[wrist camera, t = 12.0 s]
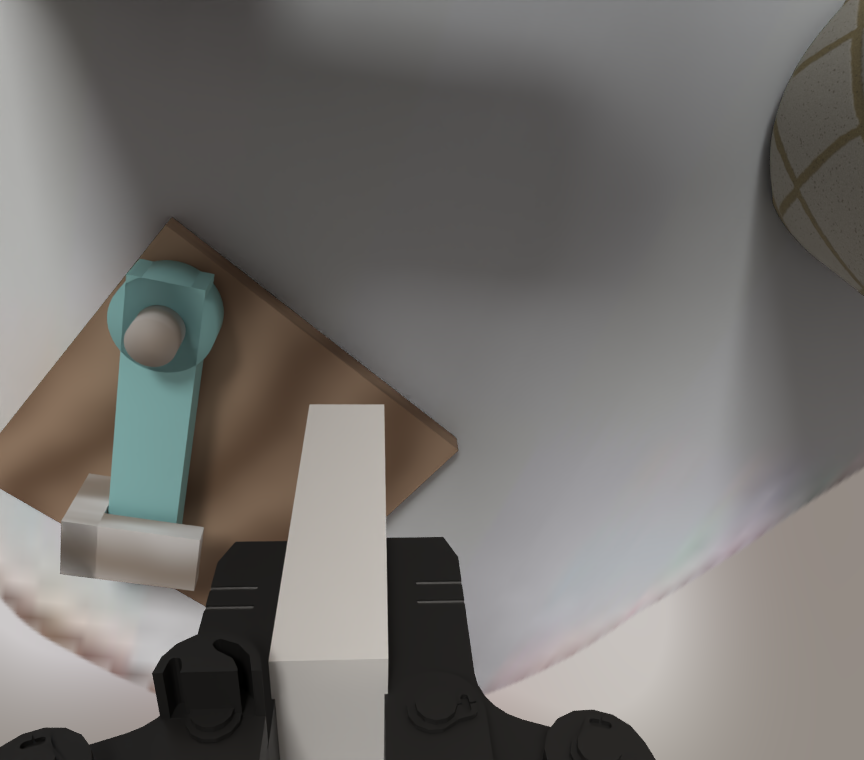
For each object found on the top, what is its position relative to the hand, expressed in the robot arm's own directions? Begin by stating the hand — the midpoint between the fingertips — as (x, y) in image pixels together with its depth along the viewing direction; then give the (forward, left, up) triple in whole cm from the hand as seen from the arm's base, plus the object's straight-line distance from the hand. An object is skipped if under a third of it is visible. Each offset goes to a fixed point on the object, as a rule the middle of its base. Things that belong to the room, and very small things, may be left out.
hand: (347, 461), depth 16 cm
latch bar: (0, -19, -27) cm, 33 cm away
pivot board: (+5, -20, -29) cm, 36 cm away
